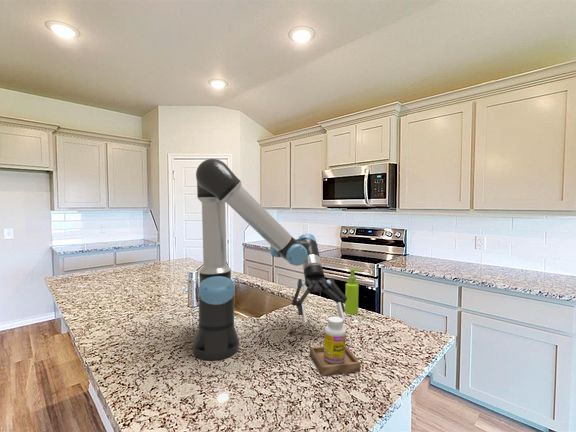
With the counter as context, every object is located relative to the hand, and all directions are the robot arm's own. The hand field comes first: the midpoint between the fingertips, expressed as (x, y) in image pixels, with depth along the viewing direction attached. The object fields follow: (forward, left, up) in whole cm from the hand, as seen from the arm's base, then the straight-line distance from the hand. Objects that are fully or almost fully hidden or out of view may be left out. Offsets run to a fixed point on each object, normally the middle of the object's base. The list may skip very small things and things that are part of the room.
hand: (324, 322), depth 101 cm
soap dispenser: (+25, +30, -9) cm, 40 cm away
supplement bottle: (0, -9, -8) cm, 12 cm away
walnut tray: (0, -9, -9) cm, 13 cm away
